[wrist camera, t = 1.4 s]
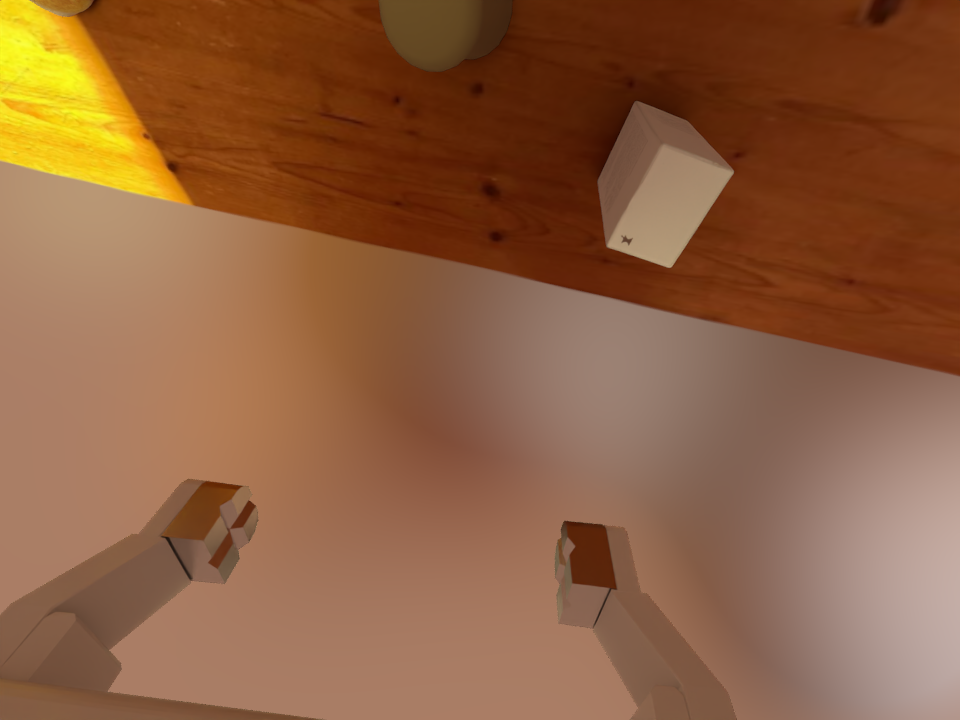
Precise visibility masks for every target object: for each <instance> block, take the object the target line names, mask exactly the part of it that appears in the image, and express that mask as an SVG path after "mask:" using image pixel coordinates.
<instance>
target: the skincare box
mask: <svg viewBox="0 0 960 720" xmlns="http://www.w3.org/2000/svg"><path fill="white" fill-rule="evenodd" d="M733 173H734V170H733V169H732V168H731V167H730V166H729V165H728V163H727V162H726V161H725V160H724V159H723V158H722V157H721V156H720V155H719V154H718V153H717V152H716V151H715V150H714V149H713V148H712V147H711V146H710V145H709V143H708V142H707V141H706V140H705V139H704V138H703V137H702V136H701V135H700V134H699V133H698V132H697V131H696V129H695V128H694V127H693V126H692V125H691V124H690V123H689V122H688V121H687V120H684V119H682V118H679V117H677V116H674V115H672V114H669V113H667V112H664V111H662V110H659V109H657V108H654V107H652V106H649V105H647V104H644V103H642V102H639V101H635V102H634V104H633V106H632V108H631V110H630V113H629V115H628V117H627V119H626V121H625V123H624V125H623V127H622V130H621V132H620V134H619V136H618V138H617V140H616V142H615V144H614V147H613V149H612V151H611V153H610V155H609V157H608V159H607V162H606V164H605V166H604V168H603V170H602V172H601V175H600V177H599V179H598V189H599V196H600V203H601V211H602V218H603V225H604V233H605V240H606V246H607V247H608V248H611V249H614V250H617V251H620V252H623V253H626V254H629V255H632V256H635V257H638V258H641V259H644V260H647V261H650V262H653V263H656V264H659V265H662V266H665V267H668V268H671V267H672V266H673V264H674V263H675V261H676V260H677V258H678V257H679V255H680V254H681V252H682V251H683V249H684V248H685V246H686V245H687V243H688V242H689V240H690V239H691V237H692V236H693V234H694V233H695V231H696V230H697V228H698V226H699V225H700V223H701V222H702V220H703V219H704V217H705V216H706V214H707V212H708V211H709V209H710V208H711V206H712V205H713V203H714V202H715V200H716V199H717V197H718V196H719V194H720V193H721V191H722V190H723V188H724V187H725V185H726V184H727V182H728V181H729V179H730V178H731V176H732V175H733Z"/></svg>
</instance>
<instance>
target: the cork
mask: <svg viewBox="0 0 960 720" xmlns="http://www.w3.org/2000/svg"><path fill="white" fill-rule="evenodd" d="M379 7H380V16H381V21H382V24H383V27H384V30H385V32H386V35H387V38H388V40H389V41H390V42H391V44H392V45H393V47H394V48H395V50H396V51H397V53H398V54H399V55H400V56H401V57H403V58H404V59H405V60H406V61H407V62H408V63H410V64H411V65H413V66H415V67H417V68H420V69H422V70H425V71H432V72H442V71H445V70H448V69H450V68H453V67H455V66H457V65H458V64H459V63H460V62H462V61H463V60H464V59H477V58H480V57H482V56H485V55H487V54H489V53H490V52H491V51H492V50H493V49H494V48H495V47H497V46H498V45H499V43H500V42H501V40H502V38H503V37H504V35H505V33H506V32H507V29H508V26H509V22H510V19H511V15H512V0H379Z"/></svg>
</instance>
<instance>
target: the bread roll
mask: <svg viewBox="0 0 960 720" xmlns="http://www.w3.org/2000/svg"><path fill="white" fill-rule="evenodd" d="M30 1H32V2H34V3H35V4H37V5H38V6H40V7H41V8H43V9H45V10H48V11H50V12H52V13H54V14H57V15H60V16H65V17H70V16H73V15H76V14H77V13H79V12H83V11H84V10H86V9H87V8H89V7H90V6H91V4H92V2H93V1H94V0H30Z"/></svg>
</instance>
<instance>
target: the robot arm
mask: <svg viewBox="0 0 960 720" xmlns="http://www.w3.org/2000/svg"><path fill="white" fill-rule="evenodd" d="M251 495H252V494H251V491H250V489H249V487H248V486H241V485H233V484H225V483H217V482H210V481H203V480H193V479H187V480H186V481H184V482H182V483H181V484H180V485H179V486H178V487H177V488H176V490H175V491H174V492H173V493H172V494H171V496H170V497H169V498H168V499H167V500H166V502H165V503H164V504H163V505H162V507H161V508H160V509H159V510H158V511H157V512H156V514H155V515H154V516H153V517H152V518H151V520H150V521H149V522H148V523H147V525H146V526H145V527H144V528H143V529H142V530H141V532H140V533H139V534H131V535H130V536H128V537H126V538H124V539H123V540H121V541H119V542H117V543H116V544H114V545H112V546H111V547H109V548H107V549H105V550H104V551H102V552H100V553H98V554H97V555H95V556H93V557H91V558H90V559H88V560H86V561H85V562H83V563H81V564H79V565H77V566H76V567H74V568H72V569H70V570H69V571H67V572H65V573H64V574H62V575H60V576H58V577H57V578H55V579H53V580H51V581H50V582H48V583H46V584H44V585H43V586H41V587H40V588H37V589H36V590H34V591H32V592H31V593H29V594H27V595H25V596H24V597H22V598H20V599H19V600H17V601H15V602H13V603H11V604H10V605H9V607H7V609H6V610H5V611H4V612H3V613H2V614H1V615H0V720H323V719H315V718H308V717H300V716H291V715H284V714H276V713H269V712H261V711H253V710H245V709H237V708H230V707H222V706H214V705H206V704H198V703H191V702H183V701H175V700H167V699H159V698H152V697H144V696H136V695H128V694H120V693H113V692H107V691H108V689H109V688H110V686H111V685H112V683H113V682H114V680H115V679H116V677H117V676H118V674H119V673H120V671H121V663H120V661H119V660H118V659H117V658H116V657H115V656H114V655H113V654H112V653H111V652H110V651H109V650H110V649H111V648H112V647H113V646H115V645H116V644H117V643H118V642H119V641H121V640H122V639H123V638H124V637H126V636H127V635H128V634H129V633H131V632H132V631H133V630H134V629H135V628H137V627H138V626H139V625H140V624H142V623H143V622H144V621H145V620H146V619H148V618H149V617H150V616H151V615H153V614H154V613H155V612H156V611H157V610H158V609H160V608H161V607H162V606H164V605H165V604H166V603H167V602H168V601H170V600H171V599H172V598H173V597H175V596H176V595H177V594H178V593H179V592H181V591H182V590H183V589H184V588H185V587H187V586H188V585H189V584H190V583H191V581H199V582H210V583H221V584H225V583H226V581H227V579H228V578H229V576H230V574H231V572H232V570H233V569H234V567H235V566H236V564H237V562H238V560H239V551H238V550H239V549H240V548H242V547H243V546H244V545H246V544H247V543H249V541H250V540H251V538H252V536H253V534H254V532H255V529H256V526H257V522H258V511H257V508H256V505H254V504H253V503H252V502H251V501H249V499H250V497H251ZM555 578H556V579H557V581H558V582H559V584H560V586H559V589H558V592H557V610H558V623H559V624H566V625H572V626H579V627H586V628H592V629H593V631H594V633H595V635H596V637H597V638H598V640H599V642H600V643H601V645H602V646H603V648H604V650H605V652H606V654H607V655H608V657H609V659H610V660H611V662H612V664H613V666H614V667H615V669H616V671H617V673H618V674H619V676H620V678H621V679H622V681H623V683H624V684H625V686H626V688H627V690H628V691H629V693H630V695H631V696H632V698H633V700H634V702H635V703H636V705H637V707H638V709H637V711H636V712H635V714H634V715H633V716H632V718H631V719H630V720H737V718H736V715H735V712H734V709H733V706H732V703H731V700H730V697H729V694H728V692H727V690H726V689H725V688H724V687H723V686H722V684H721V683H720V682H719V681H718V680H717V678H716V677H715V676H714V675H713V673H712V672H711V671H710V670H709V668H708V667H707V666H706V665H705V664H704V663H703V661H702V660H701V659H700V657H699V656H698V655H697V654H696V653H695V652H694V650H693V649H692V648H691V646H690V645H689V644H688V643H687V642H686V640H685V639H684V638H683V637H682V636H681V634H680V633H679V632H678V631H677V629H676V628H675V627H674V626H673V625H672V623H671V622H670V621H669V620H668V619H667V617H666V616H665V615H664V614H663V612H662V611H661V610H660V609H659V607H658V606H657V605H656V604H655V603H654V601H653V600H652V599H651V598H650V596H649V595H648V594H646V593H641V591H640V586H639V582H638V577H637V573H636V569H635V564H634V560H633V556H632V551H631V547H630V543H629V538H628V534H627V531H626V530H625V528H624V527H616V526H605V525H602V524H592V523H582V522H571V521H564V522H563V524H562V527H561V538H560V539H559V540H558V542H557V546H556V553H555Z"/></svg>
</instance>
